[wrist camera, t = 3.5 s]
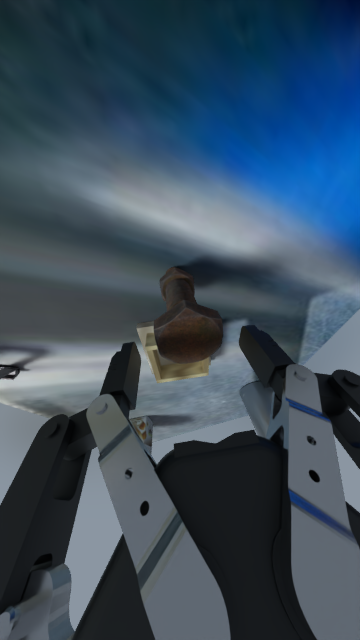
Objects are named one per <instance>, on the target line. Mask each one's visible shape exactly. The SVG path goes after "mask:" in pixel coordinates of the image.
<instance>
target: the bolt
mask: <svg viewBox="0 0 360 640" xmlns="http://www.w3.org/2000/svg"><path fill="white" fill-rule="evenodd" d="M160 288H161V293H162V298H163V300H164V301H166V306H167V312H166V313H164V314H163V315H162V316H160V317H159V318H157V319H156V320H155V321H154V328H153V330H154V336H155V341H156V345H157V348H158V351H159V354H160V356H161V357H163V358H165V359H167V360H169V361H172V362H174V363H179V364H187V363H194V362H198V361H202V360H204V359H207V358H208V357H210V356H211V355H212V354H214V353H215V352H216V351H217V350H218V348H219V347H220V346H221V344H222V338H223V325H222V318H221V317H220V315H219V313H218V311H216V310H213V309H210V308H207V307H204V306H201V305H198V304H197V302H196V300H195V297H194V293H195V291H194V279H193V276H192V275H191V274H189V273H187V272H185V271H183V270H181V269H180V268H177V267H172V268H170V269H168V270H167V271H166V274H165V275H164V276H163V277H162V278H161V279H160Z"/></svg>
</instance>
